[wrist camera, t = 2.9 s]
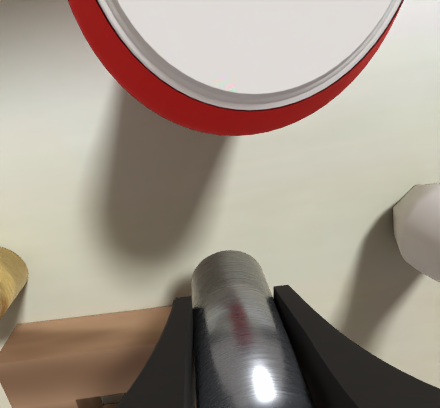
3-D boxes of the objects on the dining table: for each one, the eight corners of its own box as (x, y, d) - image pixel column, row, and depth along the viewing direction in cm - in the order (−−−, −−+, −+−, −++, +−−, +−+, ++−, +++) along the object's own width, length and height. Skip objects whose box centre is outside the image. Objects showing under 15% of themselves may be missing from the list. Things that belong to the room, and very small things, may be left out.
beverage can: (264, -63, 14) (573, -545, 3) (270, 88, 16) (448, 132, 5) (122, -51, 14) (-131, -550, 3) (149, 102, 16) (80, 179, 5)
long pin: (263, 306, 16) (318, 467, 9) (194, 314, 16) (203, 486, 9) (263, 246, 15) (326, 387, 8) (188, 254, 14) (192, 406, 8)
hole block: (217, 419, 26) (221, 461, 23) (64, 442, 25) (50, 488, 22) (206, 301, 21) (210, 336, 18) (17, 324, 20) (-9, 364, 18)
